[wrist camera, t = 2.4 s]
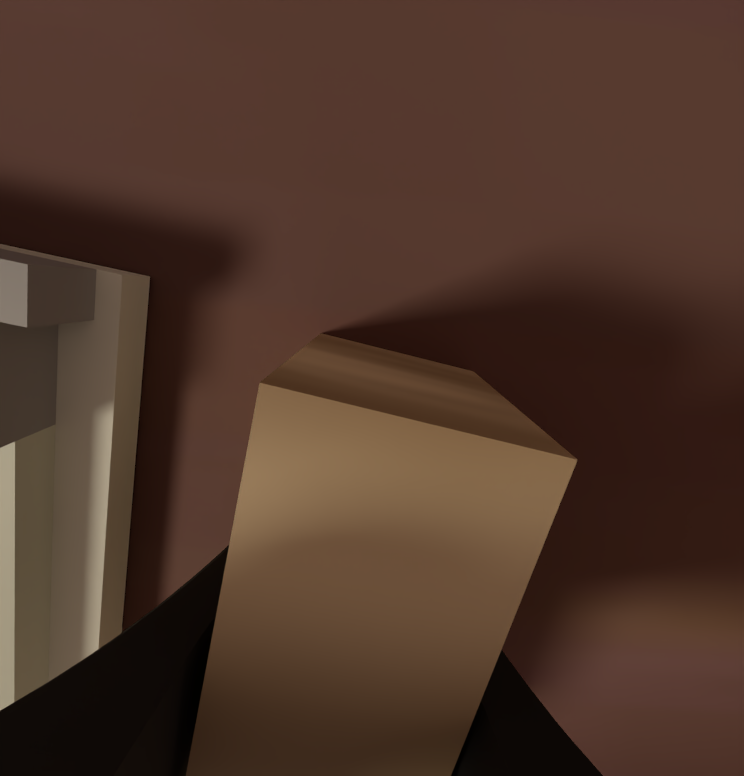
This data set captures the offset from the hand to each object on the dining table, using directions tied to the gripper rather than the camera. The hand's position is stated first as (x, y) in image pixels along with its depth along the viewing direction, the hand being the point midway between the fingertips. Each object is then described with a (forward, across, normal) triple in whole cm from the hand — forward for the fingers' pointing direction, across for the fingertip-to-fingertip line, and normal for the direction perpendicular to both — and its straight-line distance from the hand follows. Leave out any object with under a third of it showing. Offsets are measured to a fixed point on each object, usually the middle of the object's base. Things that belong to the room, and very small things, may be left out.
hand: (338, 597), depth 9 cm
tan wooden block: (+2, 0, 0) cm, 2 cm away
